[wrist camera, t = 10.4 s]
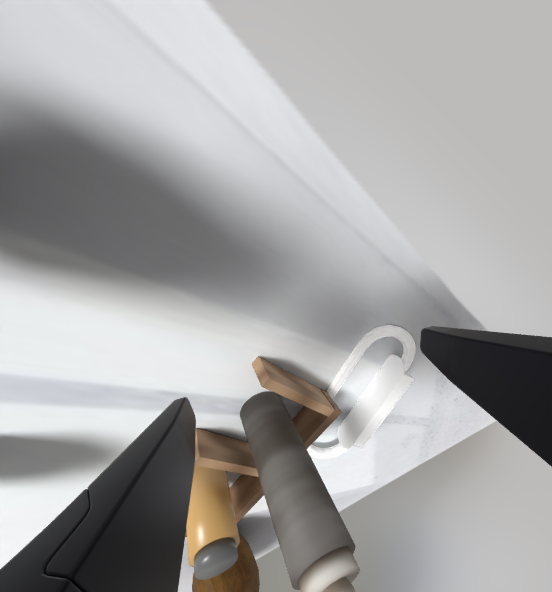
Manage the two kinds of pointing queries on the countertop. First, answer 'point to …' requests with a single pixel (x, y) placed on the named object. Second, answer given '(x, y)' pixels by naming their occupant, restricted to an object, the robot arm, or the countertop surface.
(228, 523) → the amber jar
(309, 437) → the slot rack
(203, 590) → the potato
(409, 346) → the rolling pin
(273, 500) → the pepper mill
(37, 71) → the countertop surface
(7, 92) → the countertop surface
